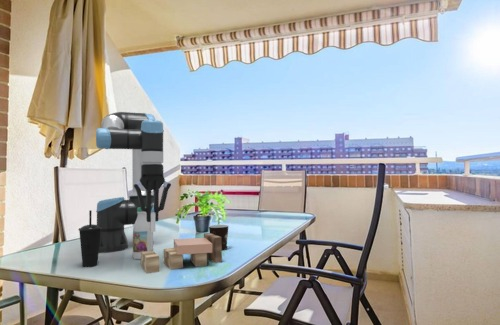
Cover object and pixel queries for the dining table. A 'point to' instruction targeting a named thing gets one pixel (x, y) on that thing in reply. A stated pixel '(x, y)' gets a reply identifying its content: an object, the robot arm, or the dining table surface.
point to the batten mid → (173, 259)
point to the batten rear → (150, 261)
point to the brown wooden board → (214, 247)
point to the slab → (192, 246)
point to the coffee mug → (220, 233)
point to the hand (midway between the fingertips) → (152, 231)
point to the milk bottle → (141, 235)
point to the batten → (199, 259)
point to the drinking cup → (90, 243)
